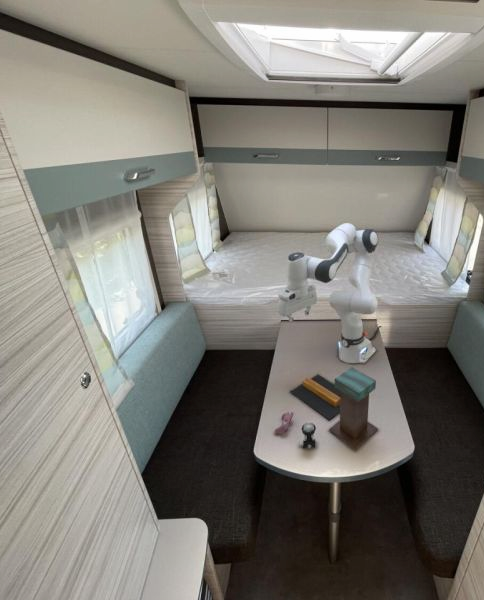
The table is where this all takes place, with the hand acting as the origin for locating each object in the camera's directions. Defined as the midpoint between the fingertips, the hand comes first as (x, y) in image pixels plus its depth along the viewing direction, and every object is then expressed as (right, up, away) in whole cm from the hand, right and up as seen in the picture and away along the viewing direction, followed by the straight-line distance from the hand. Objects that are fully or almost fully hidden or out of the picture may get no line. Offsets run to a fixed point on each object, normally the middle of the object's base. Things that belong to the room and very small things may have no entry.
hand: (299, 317), depth 149 cm
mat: (+11, -37, +4) cm, 39 cm away
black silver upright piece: (+6, -49, -22) cm, 54 cm away
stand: (+24, -45, -15) cm, 54 cm away
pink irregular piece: (-4, -45, -13) cm, 47 cm away
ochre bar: (+10, -36, +4) cm, 38 cm away
